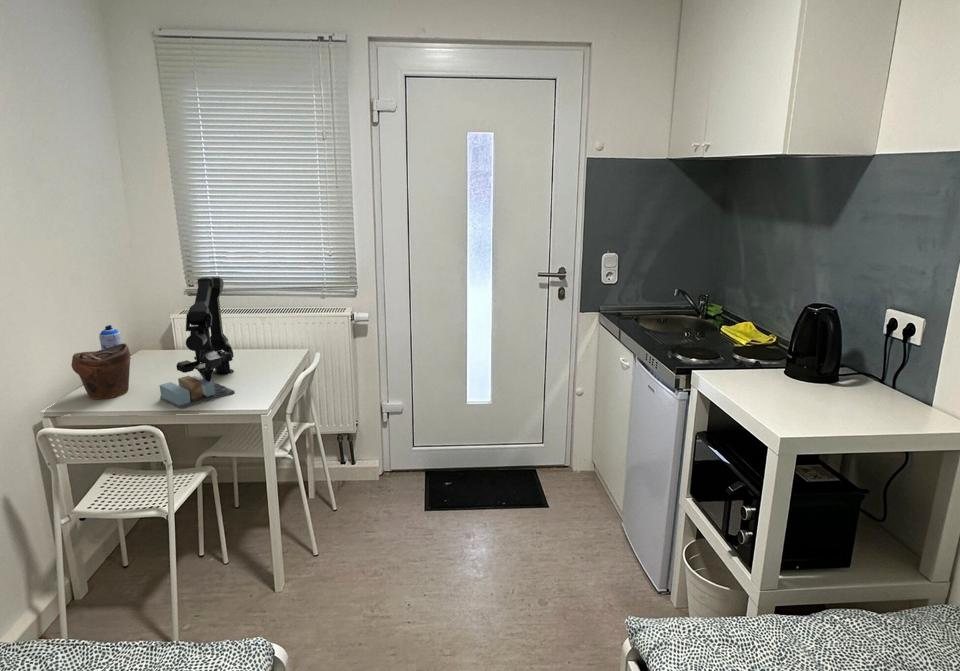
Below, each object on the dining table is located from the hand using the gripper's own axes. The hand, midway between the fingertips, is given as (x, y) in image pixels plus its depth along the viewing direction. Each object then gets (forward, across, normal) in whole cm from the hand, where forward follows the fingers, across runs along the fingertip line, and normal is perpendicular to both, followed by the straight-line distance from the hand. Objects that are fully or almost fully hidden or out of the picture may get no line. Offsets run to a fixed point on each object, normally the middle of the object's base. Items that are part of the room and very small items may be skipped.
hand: (208, 383), depth 232 cm
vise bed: (+4, -4, 0) cm, 6 cm away
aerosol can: (+4, -12, +53) cm, 55 cm away
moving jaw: (+2, -3, 0) cm, 4 cm away
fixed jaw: (+3, -12, 0) cm, 12 cm away
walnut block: (+2, -7, 0) cm, 7 cm away
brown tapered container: (+4, -24, +29) cm, 38 cm away
